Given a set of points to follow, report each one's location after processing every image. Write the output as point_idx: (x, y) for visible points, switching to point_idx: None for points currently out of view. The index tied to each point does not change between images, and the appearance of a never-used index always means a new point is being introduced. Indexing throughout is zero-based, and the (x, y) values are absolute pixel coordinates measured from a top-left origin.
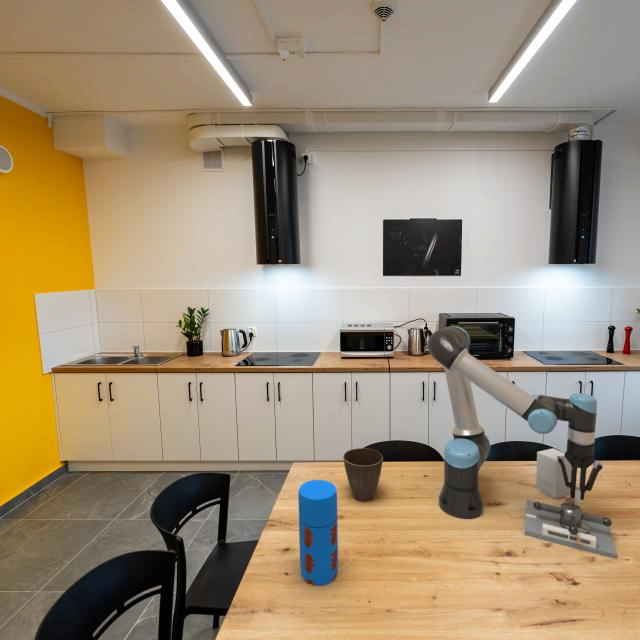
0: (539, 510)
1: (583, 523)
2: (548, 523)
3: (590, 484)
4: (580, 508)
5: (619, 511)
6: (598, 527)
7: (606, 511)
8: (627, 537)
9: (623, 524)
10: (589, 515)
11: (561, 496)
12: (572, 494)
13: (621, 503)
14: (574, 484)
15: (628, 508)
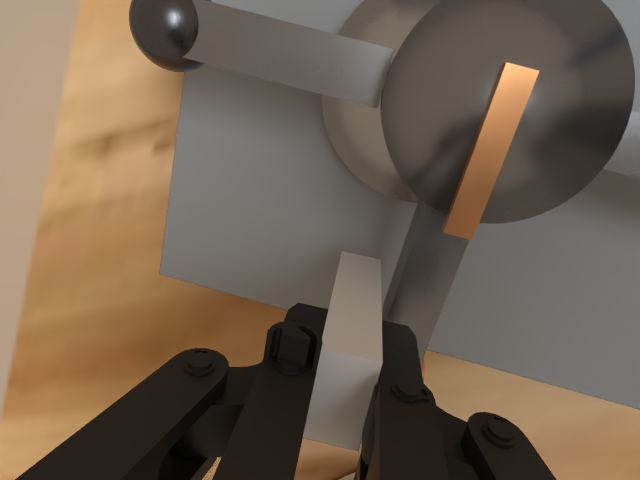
0: (612, 284)
1: (358, 110)
2: None
3: (146, 422)
4: (394, 117)
5: (77, 378)
6: (246, 141)
7: (143, 369)
8: (95, 114)
9: (85, 255)
10: (319, 61)
11: (354, 476)
12: (402, 347)
13: (51, 449)
14: (402, 439)
15: (28, 411)
